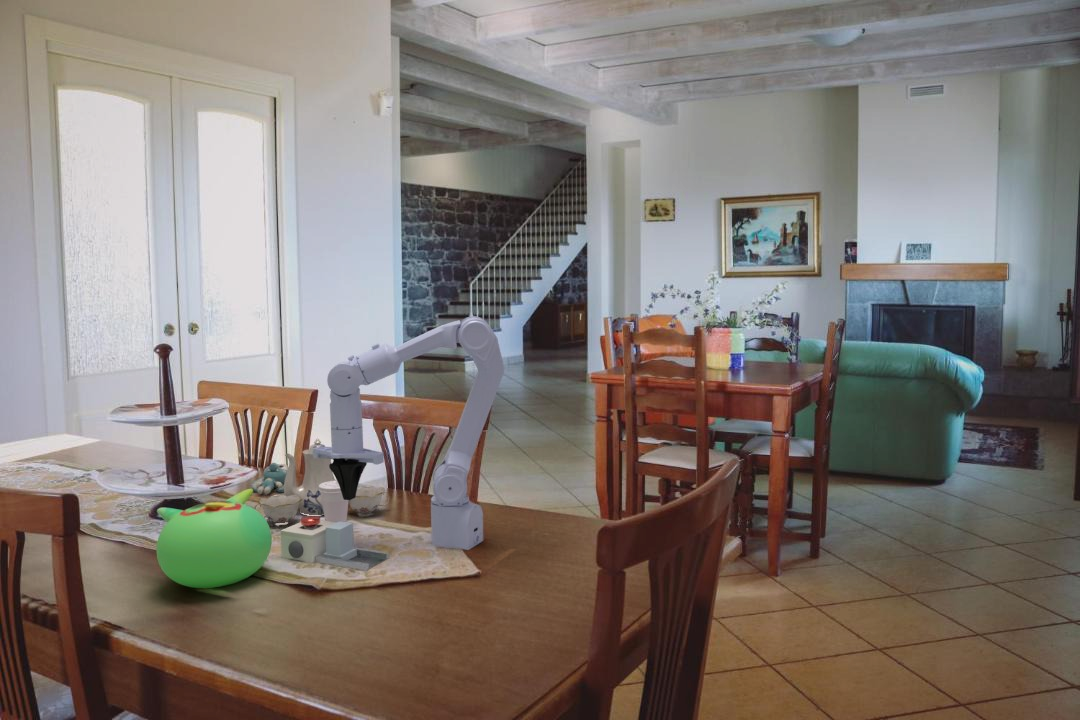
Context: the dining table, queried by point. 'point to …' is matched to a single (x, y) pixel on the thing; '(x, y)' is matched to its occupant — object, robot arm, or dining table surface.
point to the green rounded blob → (213, 542)
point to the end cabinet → (304, 542)
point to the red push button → (310, 522)
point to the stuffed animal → (271, 479)
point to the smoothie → (333, 502)
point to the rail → (355, 563)
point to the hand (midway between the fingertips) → (349, 498)
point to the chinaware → (314, 491)
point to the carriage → (340, 541)
